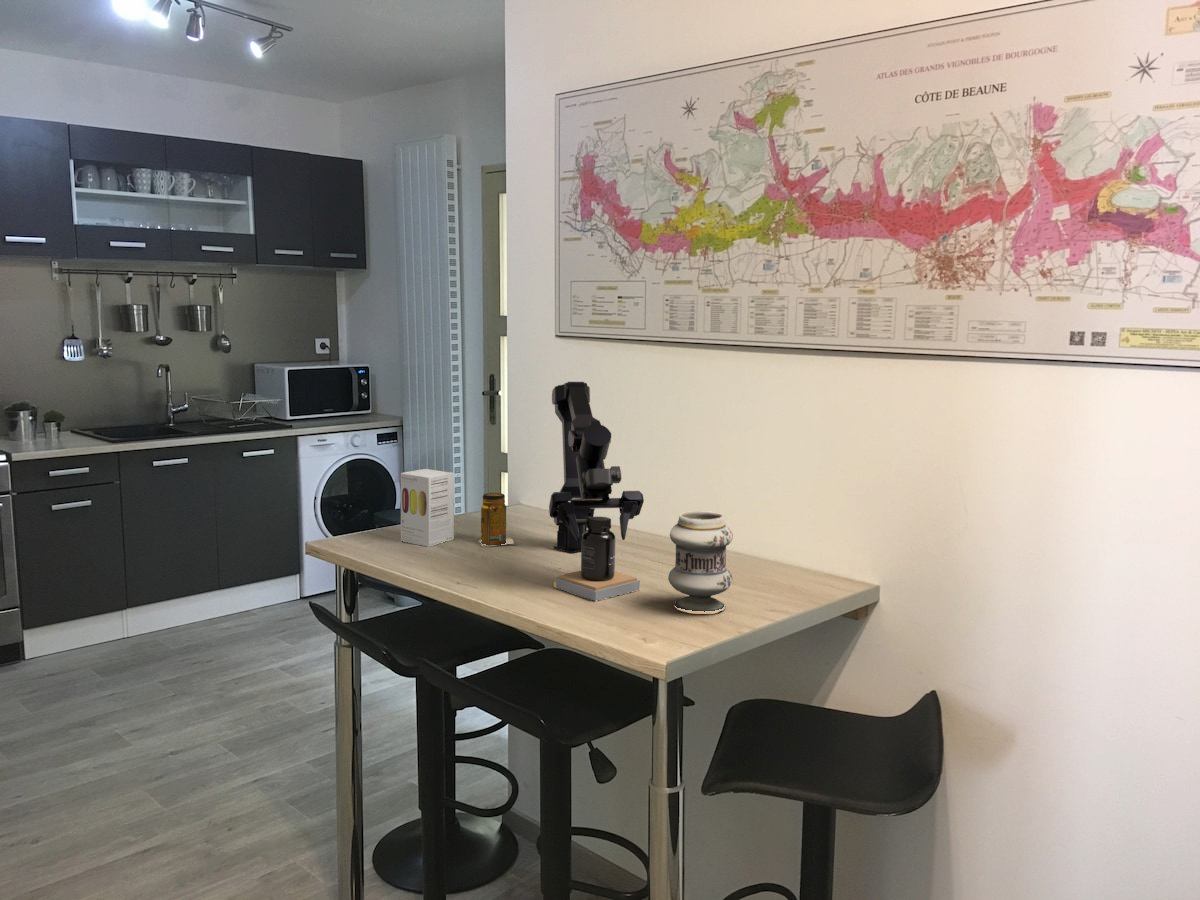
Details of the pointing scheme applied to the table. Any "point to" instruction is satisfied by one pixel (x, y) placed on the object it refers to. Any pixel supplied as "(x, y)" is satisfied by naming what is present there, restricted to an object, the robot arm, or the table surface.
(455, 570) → the table surface
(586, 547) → the supplement bottle
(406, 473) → the supplement box
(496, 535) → the condiment
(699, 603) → the apothecary jar
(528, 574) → the table surface
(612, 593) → the note pad
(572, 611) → the table surface
